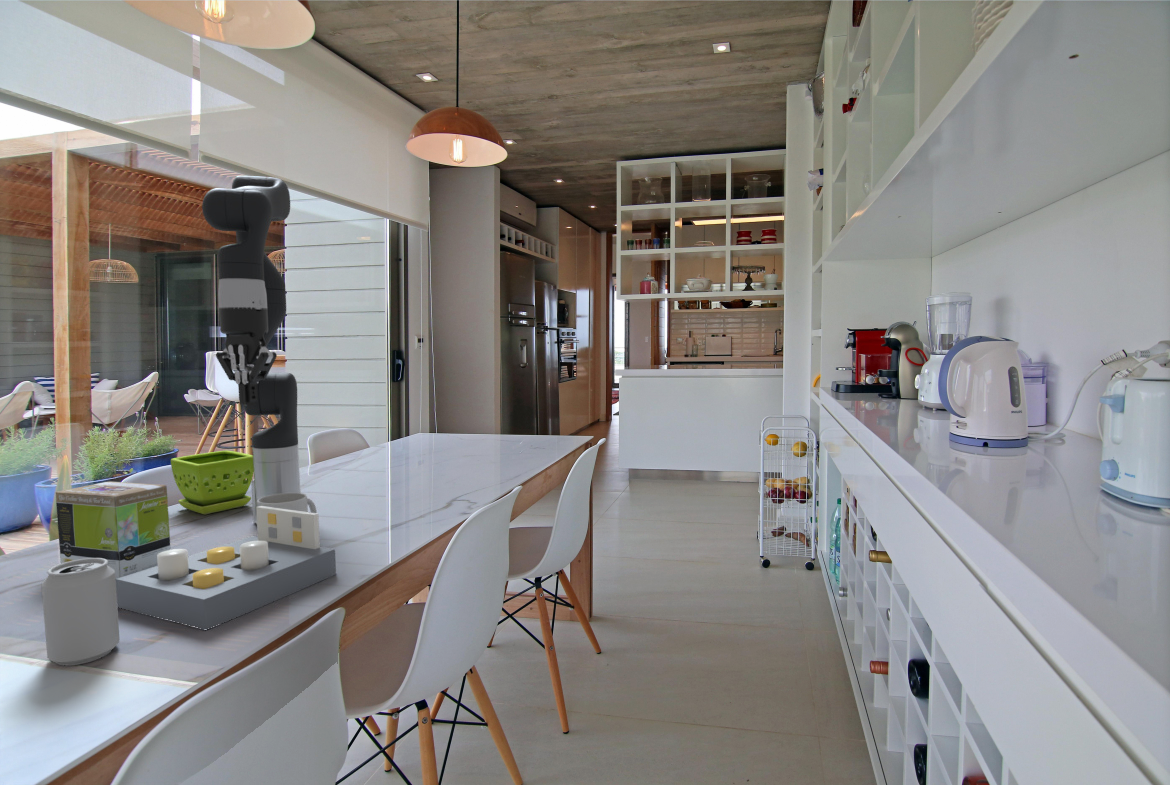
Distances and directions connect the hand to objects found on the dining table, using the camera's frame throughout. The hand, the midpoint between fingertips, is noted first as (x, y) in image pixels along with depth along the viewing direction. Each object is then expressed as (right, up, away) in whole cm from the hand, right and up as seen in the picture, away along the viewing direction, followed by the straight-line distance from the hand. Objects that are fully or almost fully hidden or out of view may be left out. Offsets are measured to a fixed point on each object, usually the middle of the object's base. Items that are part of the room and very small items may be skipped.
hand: (248, 405), depth 117 cm
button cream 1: (-4, -28, -14) cm, 31 cm away
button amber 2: (+3, -30, -18) cm, 35 cm away
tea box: (-24, -30, +2) cm, 38 cm away
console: (+2, -30, -10) cm, 31 cm away
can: (-5, -32, -31) cm, 45 cm away
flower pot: (-30, -26, +44) cm, 59 cm away
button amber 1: (-1, -29, -7) cm, 30 cm away
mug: (+2, -28, +13) cm, 31 cm away
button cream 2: (+7, -27, -11) cm, 30 cm away
